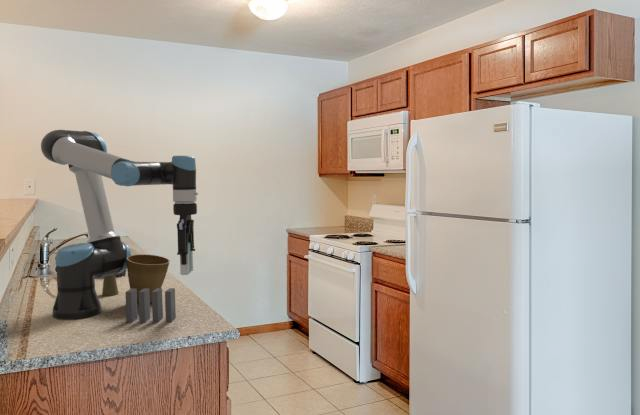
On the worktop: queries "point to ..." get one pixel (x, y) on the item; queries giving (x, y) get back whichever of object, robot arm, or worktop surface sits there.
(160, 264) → the plant pot
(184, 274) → the domino
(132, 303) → the domino
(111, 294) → the cork
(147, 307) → the domino
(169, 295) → the domino
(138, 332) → the worktop surface
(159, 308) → the domino
